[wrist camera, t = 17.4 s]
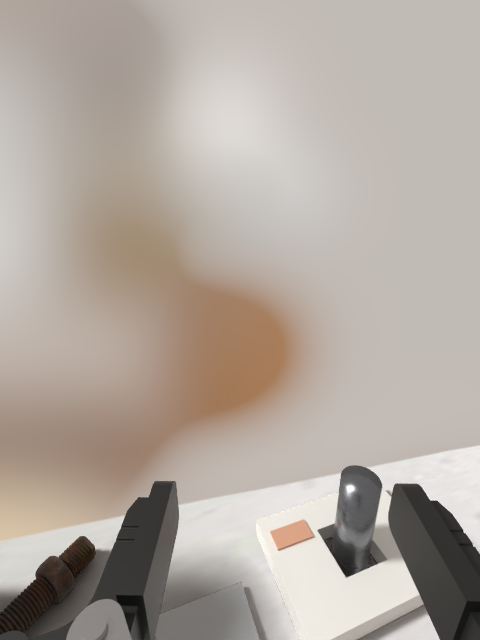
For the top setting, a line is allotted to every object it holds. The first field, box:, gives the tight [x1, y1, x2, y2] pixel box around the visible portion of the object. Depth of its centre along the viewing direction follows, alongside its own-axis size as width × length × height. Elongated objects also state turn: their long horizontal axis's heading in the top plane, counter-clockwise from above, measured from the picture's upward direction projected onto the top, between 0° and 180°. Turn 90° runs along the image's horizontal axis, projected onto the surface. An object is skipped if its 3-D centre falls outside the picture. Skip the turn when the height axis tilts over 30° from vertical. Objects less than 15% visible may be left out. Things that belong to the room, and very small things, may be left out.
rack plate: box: [256, 488, 424, 640], centre depth 39 cm, size 20×14×3 cm
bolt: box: [0, 536, 96, 635], centre depth 33 cm, size 6×5×15 cm
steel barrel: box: [331, 466, 382, 577], centre depth 37 cm, size 4×4×13 cm
